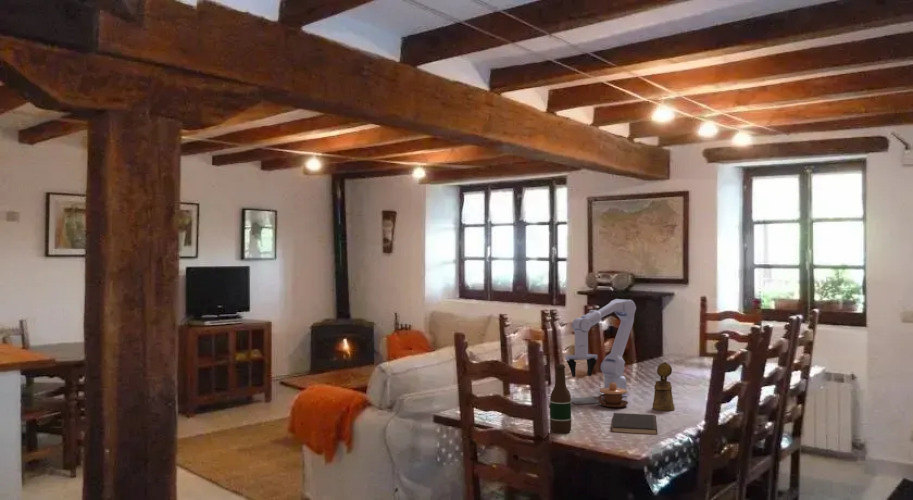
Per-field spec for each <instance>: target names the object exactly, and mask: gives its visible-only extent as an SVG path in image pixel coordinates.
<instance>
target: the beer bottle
mask: <svg viewBox="0 0 913 500" xmlns="http://www.w3.org/2000/svg"><path fill="white" fill-rule="evenodd" d="M554 368H555V382H554V388H553V389H552V391H551V393H550V396H549V397H550V399H549V411H550V412H549V421H550V422H549V428H550V429H549V430H550V432H552V433H554V434H569V433H570V432H571V431H572V403H571V398H572V396H571V395H572V394H571V393H570V390H569V389H568V387H567V384H566V365H565V364H562V363H561V364H559V363H558V364H556V365H555V367H554Z"/></svg>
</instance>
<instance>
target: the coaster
mask: <svg viewBox="0 0 913 500" xmlns="http://www.w3.org/2000/svg"><path fill="white" fill-rule="evenodd" d="M599 401H600V400H598V399H595V398H593V397H590V396H586V397H584V396H583V397H571V404H573V405H575V406H582V405H595V404H596V405H598V404H599V405H600V403H599Z"/></svg>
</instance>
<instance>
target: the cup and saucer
mask: <svg viewBox="0 0 913 500" xmlns="http://www.w3.org/2000/svg"><path fill="white" fill-rule="evenodd" d="M598 396H599V397H598V399H599V400H598V401H599V405H601V406H602V407H607V408H610V409H612V408H613V409H614V408H615V409H617V408H623V407H626V406H627V405H628V403H629V402H628V401H627V400H624V399H623V397H622V394H601V393H600V395H598ZM602 397H604V398H603V399H601V398H602Z"/></svg>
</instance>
